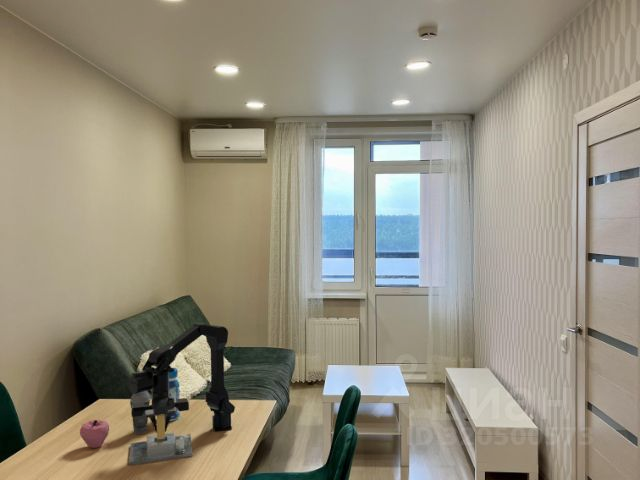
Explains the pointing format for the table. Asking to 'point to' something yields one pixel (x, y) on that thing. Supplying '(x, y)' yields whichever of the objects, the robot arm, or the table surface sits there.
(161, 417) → the pale yellow rectangular prism
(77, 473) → the table surface
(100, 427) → the apple
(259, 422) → the table surface
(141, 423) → the beverage cup
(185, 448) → the gray tray
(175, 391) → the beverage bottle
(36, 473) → the table surface
